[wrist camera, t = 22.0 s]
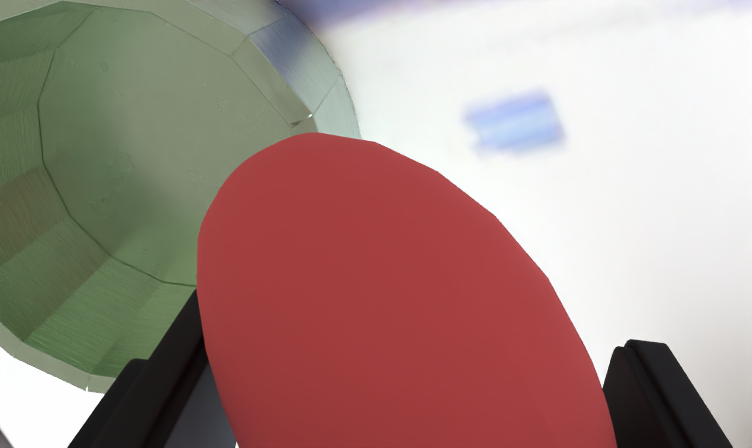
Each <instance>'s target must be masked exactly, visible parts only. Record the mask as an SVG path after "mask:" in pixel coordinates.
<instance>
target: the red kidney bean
mask: <svg viewBox="0 0 752 448" xmlns="http://www.w3.org/2000/svg"><path fill="white" fill-rule="evenodd" d="M197 297H198V303H199V309H200V316H201V322H202V329H203V335H204V342H205V348H206V352H207V356H208V359H209V363H210V366H211V369H212V373H213V376H214V380H215V383H216V386H217V390H218V393H219V397H220V400H221V403H222V406H223V409H224V411H225V414H226V416H227V419H228V421H229V424H230V426H231V429H232V431H233V434H234V436H235V439H236V441H237V443H238V446H239V448H617V443H616V438H615V433H614V428H613V424H612V420H611V416H610V413H609V409H608V406H607V402H606V399H605V396H604V393H603V390H602V387H601V384H600V381H599V378H598V376H597V373H596V370H595V368H594V365H593V362H592V360H591V358H590V356H589V354H588V352H587V350H586V348H585V346H584V344H583V342H582V340H581V338H580V336H579V334H578V333H577V331H576V329H575V327H574V325H573V323H572V322H571V320H570V318H569V316H568V314H567V312H566V310H565V309H564V307H563V305H562V303H561V301H560V299H559V298H558V296H557V294H556V292H555V290H554V288H553V286H552V285H551V283H550V281H549V279H548V277H547V276H546V275H545V274H544V273H543V272H542V270H541V269H540V268H539V267H538V266H537V264H536V263H535V262H534V261H533V260H532V259H531V257H530V256H529V255H528V254H527V253H526V252H525V250H524V249H523V248H522V247H521V246H520V245H519V243H518V242H517V241H516V240H515V239H514V237H513V236H512V235H511V234H510V233H509V232H508V230H507V229H506V228H505V227H504V226H503V225H502V223H501V222H500V221H499V220H498V219H497V218H496V216H494V215H493V214H492V213H491V212H489V211H488V210H487V209H485V208H484V207H483V206H481V205H480V204H479V203H478V202H476V201H475V200H474V199H472V198H471V197H470V196H469V195H467V194H466V193H465V192H463V191H462V190H461V189H460V188H458V187H457V186H456V185H454V184H453V183H452V182H450V181H449V180H448V179H447V178H445V177H444V176H443V175H441V174H440V173H439V172H438V171H435V170H433V169H431V168H429V167H427V166H425V165H423V164H421V163H419V162H416V161H414V160H412V159H410V158H408V157H406V156H404V155H402V154H400V153H397V152H395V151H393V150H391V149H389V148H387V147H385V146H383V145H381V144H378V143H376V142H372V141H366V140H361V139H355V138H349V137H343V136H337V135H331V134H325V133H319V132H312V133H303V134H299V135H294V136H292V137H289V138H287V139H284V140H282V141H279V142H277V143H275V144H273V145H271V146H269V147H267V148H265V149H263V150H261V151H259V152H257V153H255V154H254V155H252V156H251V157H249V158H248V159H247V160H245V161H244V162H243V163H242V164H240V165H239V166H238V167H237V168H236V169H235V170H234V171H233V172H232V173H231V174H230V176H229V177H228V178H227V179H226V181H225V182H224V183H223V185H222V186H221V188H220V189H219V191H218V193H217V195H216V197H215V198H214V200H213V202H212V204H211V205H210V207H209V209H208V211H207V212H206V215H205V217H204V219H203V222H202V224H201V227H200V231H199V235H198V240H197Z"/></svg>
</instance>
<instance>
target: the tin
mask: <svg viewBox="0 0 752 448" xmlns="http://www.w3.org/2000/svg"><path fill="white" fill-rule="evenodd" d="M312 132H319V133H325V134H331V135H337V136H343V137H349V138H355V139H361V135H360V132H359V127H358V122H357V118H356V114H355V110H354V105H353V103H352V100H351V97H350V95H349V92H348V89H347V87H346V84H345V82H344V79H343V76H342V74H341V72H340V71H339V69H338V68H337V67H336V65H335V63H334V61H333V60H332V59H331V57H330V56H329V54H328V53H327V51H326V50H325V49H324V47H323V46H322V44H321V43H320V42H319V40H318V39H317V38H316V37H315V36H314V35H313V34H312V33H311V32H310V31H309V29H308V28H307V27H306V26H305V25H304V24H303V23H302V22H301V21H300V20H299V19H298V18H297V17H296V16H295V15H294V14H293V13H292V12H290V11H289V10H287V9H286V8H284V7H283V6H282V5H280V4H278V3H277V2H275V1H274V0H0V346H1V347H2V348H3V349H4V350H5V351H6V352H8V353H9V354H10V355H11V356H13V357H14V358H16V359H18V360H20V361H23V362H25V363H27V364H29V365H31V366H33V367H35V368H38V369H40V370H42V371H44V372H46V373H48V374H50V375H53V376H55V377H57V378H59V379H61V380H63V381H66V382H68V383H70V384H72V385H74V386H76V387H78V388H81V389H83V390H85V391H87V390H88V391H89V392H97V393H104V394H106V392H107V391H108V390H109V388H110V387H111V385H112V384H113V383H114V381H115V380H116V378H117V377H118V375H119V374H120V373H121V371H122V370H123V368H124V367H125V366H126V364H127V363H128V362H129V361H130V360H132V359H134V358H139V359H147V360H148V359H149V357H150V356H151V354H152V353H153V351H154V350H155V348H156V347H157V345H158V344H159V342H160V341H161V339H162V338H163V336H164V335H165V333H166V332H167V330H168V329H169V327H170V326H171V324H172V323H173V321H174V320H175V318H176V317H177V315H178V314H179V312H180V311H181V309H182V308H183V306H184V305H185V303H186V302H187V300H188V299H189V297H190V296H191V294H192V293H193V291H194V290H195V289H196V288H197V240H198V235H199V231H200V227H201V224H202V222H203V219H204V217H205V215H206V212H207V211H208V209H209V207H210V205H211V204H212V202H213V200H214V198H215V197H216V195H217V193H218V191H219V189H220V188H221V186H222V185H223V183H224V182H225V181H226V179H227V178H228V177H229V176H230V174H231V173H232V172H233V171H234V170H235V169H236V168H237V167H238V166H239V165H240V164H242V163H243V162H244V161H245V160H247V159H248V158H249V157H251V156H252V155H254V154H255V153H257V152H259V151H261V150H263V149H265V148H267V147H269V146H271V145H273V144H275V143H277V142H279V141H282V140H284V139H287V138H289V137H292V136H294V135H299V134H303V133H312ZM361 140H362V139H361Z"/></svg>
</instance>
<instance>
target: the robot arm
mask: <svg viewBox="0 0 752 448" xmlns="http://www.w3.org/2000/svg"><path fill="white" fill-rule="evenodd" d="M602 390H603V393H604V396H605V399H606V402H607V406H608V409H609V413H610V416H611V420H612V424H613V428H614V433H615V438H616V443H617V448H733V447H732V445H731V443H730V442H729V440H728V439H727V437H726V436H725V434H724V433H723V431H722V429H721V428H720V426H719V425H718V423H717V422H716V420H715V419H714V417H713V415H712V414H711V412H710V411H709V409H708V408H707V406H706V405H705V403H704V401H703V400H702V398H701V397H700V395H699V394H698V392H697V391H696V389H695V387H694V386H693V384H692V383H691V381H690V380H689V378H688V377H687V375H686V373H685V372H684V370H683V369H682V367H681V366H680V364H679V363H678V361H677V359H676V358H675V356H674V355H673V353H672V352H671V350H670V349H669V347H668V346H667V345H666V344H664V343H658V342H650V341H641V340H633V339H630V340H628V341H627V342H626V344H625V346H624V347H620V346H618V347H616V348H615V349H614V351H613V354H612V357H611V360H610V364H609V367H608V371H607V374H606V378H605V381H604V385H603V388H602ZM235 446H236V439H235V436H234V434H233V431H232V429H231V426H230V424H229V421H228V419H227V416H226V414H225V411H224V409H223V406H222V403H221V400H220V397H219V393H218V390H217V386H216V383H215V380H214V376H213V373H212V369H211V366H210V363H209V359H208V356H207V352H206V348H205V342H204V335H203V329H202V322H201V316H200V309H199V303H198V297H197V288H196V289H195V290H194V291H193V293H192V294H191V296H190V297H189V299H188V300H187V302H186V303H185V305H184V306H183V308H182V309H181V311H180V312H179V314H178V315H177V317H176V318H175V320H174V321H173V323H172V324H171V326H170V327H169V329H168V330H167V332H166V333H165V335H164V336H163V338H162V339H161V341H160V342H159V344H158V345H157V347H156V348H155V350H154V351H153V353H152V354H151V356H150V357H149V359H148V360H147V359H139V358H134V359H132V360H130V361H129V362H128V363H127V364H126V366H125V367H124V368H123V370H122V371H121V373H120V374H119V375H118V377H117V378H116V380H115V381H114V383H113V384H112V385H111V387H110V388H109V390H108V391H107V392H106V394H105V395H104V397H103V398H102V399H101V401H100V402H99V404H98V405H97V406H96V408H95V409H94V411H93V412H92V414H91V415H90V416H89V418H88V419H87V421H86V422H85V423H84V425H83V426H82V428H81V429H80V430H79V432H78V433H77V435H76V436H75V438H74V439H73V440H72V442H71V443H70V445H69V446H68V447H67V448H235Z"/></svg>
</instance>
